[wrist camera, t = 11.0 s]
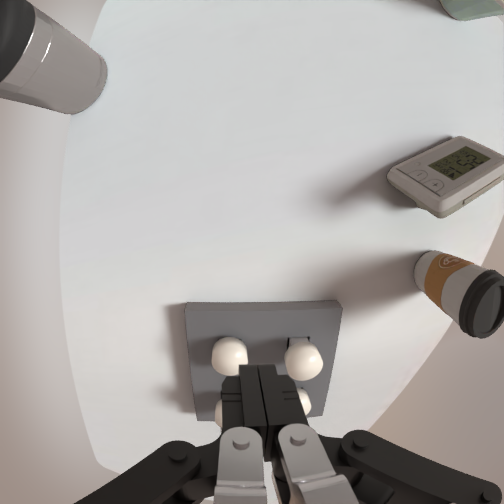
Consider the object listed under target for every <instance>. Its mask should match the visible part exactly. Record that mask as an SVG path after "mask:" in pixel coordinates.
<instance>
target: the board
mask: <svg viewBox="0 0 504 504" xmlns="http://www.w3.org/2000/svg"><path fill="white" fill-rule="evenodd" d="M342 309H343V308H342V306H341V305H340V304H339V302H338V301H337V300H328V301H300V302H245V303H210V302H187V305H186V308H185V322H186V333H187V343H188V353H189V362H190V371H191V379H192V387H193V395H194V402H195V409H196V416H197V421H215V409H216V404H217V402H218V401H220V400H221V399H222V383H223V381H224V380H225V378H226V376H227V375H223V374H220V373H219V372H217V371H216V370H215V369H214V368H213V366H212V351H213V346H214V344H215V343H216V342H217V341H218V340H219V339H222V338H225V337H234V338H237V339H241V341H242V342H243V343H244V344H245V346H246V348H247V358H248V364H256V365H257V364H275V366H276V370H277V374H278V375H286V374H287V375H288V376H289V374H288V372H287V368H286V364H285V360H284V356H285V353H286V351H287V349H288V346H287V341H288V337H307V338H308V340H309V342H310V343H312V344H314V345H315V346H316V347H317V349H318V352H319V354H320V356H321V358H322V361H323V367H322V370H321V371H320V373H319V374H318V375H317V376H315V377H314V378H312V379H309V380H305V381H298V380H295V379H293V378H291V377H290V376H289V377H290V378H291V379H292V380H293V381H294V382H295V384H296V388H301V389H304V390H305V391H306V392H307V394H308V397H309V400H310V404H311V410H310V411H309V413H308V414H307V415H306V418H307V417H316V416H322V415H323V411H324V406H325V402H326V397H327V393H328V388H329V383H330V378H331V373H332V368H333V363H334V358H335V352H336V347H337V341H338V335H339V329H340V323H341V316H342ZM233 376H238V374H237V375H233Z"/></svg>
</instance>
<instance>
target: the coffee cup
mask: <svg viewBox="0 0 504 504" xmlns="http://www.w3.org/2000/svg"><path fill="white" fill-rule="evenodd" d="M414 279H415V283H416V285H417V287H418V288H419V289H420V290H421V291H423V292H424V293H425V294H426V295H427V296H428V297H429V299H431V300H432V301H433V302H434V303H435V304H436V305H437V306H438V307H439V308H440V309H441V310H442V311H443V312H445V313H446V314H447V315H449V316H450V317H451V318H452V319H453V320H454V321H455V322H456V323H457V324H458V325H459V326H460V328H461V329H462V331H463V332H465V333H467V334H468V335H470V336H472V337H478V338H486V337H489V336H490V335H492V334H493V333H494V332H495V331H496V330H497V329H498V328H499V327H500V326H501V324H502V323H503V321H504V277H503V276H502V275H501V274H499V273H498V272H496V271H495V270H488V269H486V268H483V267H481V266H478V265H475V264H474V263H472V262H469V261H466V260H464V259H461V258H458V257H455V256H452V255H450V254H445V253H442V252H440V251H435V250H434V251H430V252H427V253H425V254H424V255H422V256H421V257H420V259H419V260H418V262H417V264H416V266H415V270H414Z"/></svg>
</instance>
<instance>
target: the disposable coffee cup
mask: <svg viewBox="0 0 504 504" xmlns="http://www.w3.org/2000/svg"><path fill="white" fill-rule="evenodd" d="M440 2H441V4H442V7H443V8H444V9H445V10H446V12H447V13H448V14H449V15H450V16H452V17H453V18H455V19H456V20H461V21H468V20H473V19H479V18H484V17H490V16H496V15H503V14H504V0H440Z"/></svg>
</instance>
